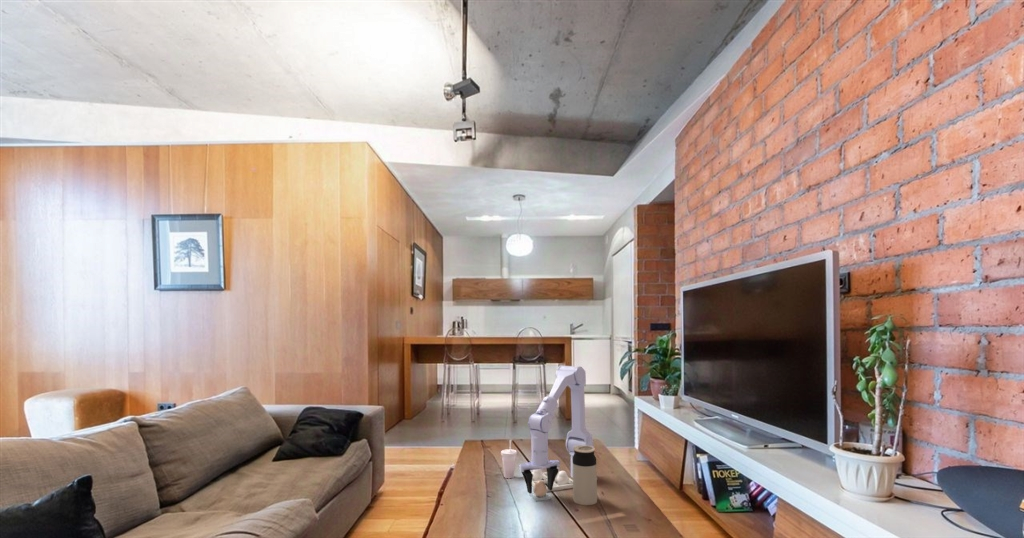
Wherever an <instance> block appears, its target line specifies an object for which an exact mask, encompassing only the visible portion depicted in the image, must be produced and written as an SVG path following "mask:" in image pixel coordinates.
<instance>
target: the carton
mask: <svg viewBox="0 0 1024 538" xmlns="http://www.w3.org/2000/svg"><path fill="white" fill-rule="evenodd" d="M542 473H543V479H542V480H541V481H543V482H544V483H545V485H548V477H547V471H545V472H542ZM522 479H523V480H524V481H525V479H524V477H523V476H522ZM536 482H537V481H533V480H532V489H533V488H534V486H535V483H536ZM546 488H547V492H546V493H549V492H555V491H562V490H568V489H573V478H572V477H569V483H568V484H566V485H558V483H557V480H556V478H555V480H554V483H553V488H552V490H549V489H548V486H546Z"/></svg>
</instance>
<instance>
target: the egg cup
mask: <svg viewBox="0 0 1024 538" xmlns="http://www.w3.org/2000/svg"><path fill="white" fill-rule="evenodd" d="M528 494H529V496H530V497H531V499H533V500H534V501H535V502H539V501H547V500H551V499H552V496H550V495H549V494H548V492H546V494H545V496H543V497H537V496H536V495H535V494H534V492H532V493H529V492H528Z"/></svg>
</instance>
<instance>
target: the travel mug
mask: <svg viewBox="0 0 1024 538" xmlns="http://www.w3.org/2000/svg"><path fill="white" fill-rule="evenodd" d="M573 450H574V455H573V478H572V480H573V488H572V498H573V499H572V500H573V502H574V503H575V504H578V505H581V506H592V505H595V504H597V503H598V481H597V479H598V477H597V476H598V475H597V472H598V471H597V470H598V469H597V457H596V455H595V451H596V448H595V446H594V447H592V446H588V445H578V446H575V447H573Z"/></svg>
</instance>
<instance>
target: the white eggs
mask: <svg viewBox="0 0 1024 538" xmlns="http://www.w3.org/2000/svg"><path fill="white" fill-rule="evenodd" d="M557 468H558V474H557V475H556V480H557V482H556V484H557V485H566V484H570V483H569V478H570V477H569V476H568V473H567V471H565V470H560V467H557ZM531 473H532V474H533V478H532V481H538V480H544V478H543V473H544V472H543V470H542V469H536V470H531Z"/></svg>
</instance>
